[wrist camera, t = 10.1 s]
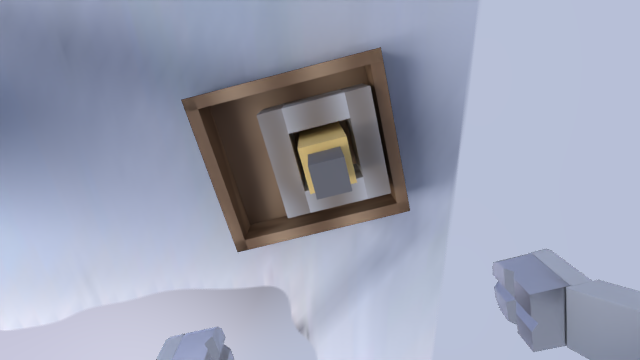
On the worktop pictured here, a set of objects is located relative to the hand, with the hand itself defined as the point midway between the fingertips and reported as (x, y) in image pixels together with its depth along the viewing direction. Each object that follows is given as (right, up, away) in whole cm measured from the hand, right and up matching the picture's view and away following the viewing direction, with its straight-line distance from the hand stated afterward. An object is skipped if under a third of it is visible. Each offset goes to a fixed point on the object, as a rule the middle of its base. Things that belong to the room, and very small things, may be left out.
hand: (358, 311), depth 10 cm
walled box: (-3, +7, +22) cm, 24 cm away
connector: (-1, +7, +22) cm, 23 cm away
